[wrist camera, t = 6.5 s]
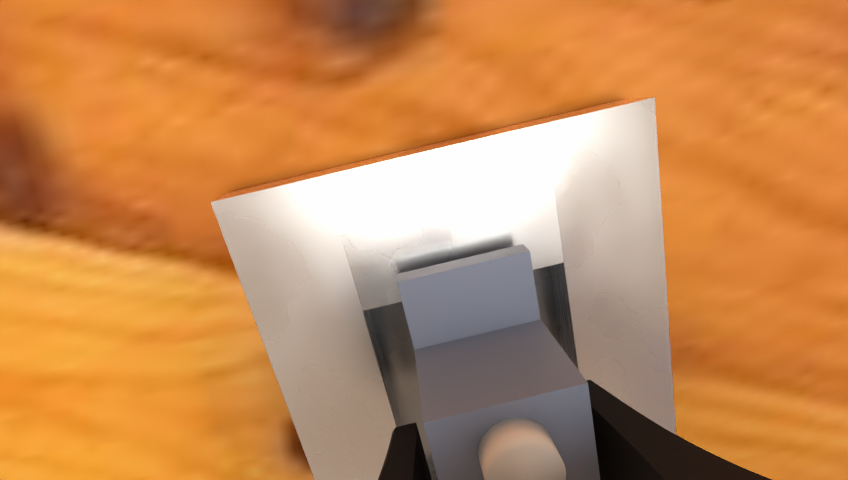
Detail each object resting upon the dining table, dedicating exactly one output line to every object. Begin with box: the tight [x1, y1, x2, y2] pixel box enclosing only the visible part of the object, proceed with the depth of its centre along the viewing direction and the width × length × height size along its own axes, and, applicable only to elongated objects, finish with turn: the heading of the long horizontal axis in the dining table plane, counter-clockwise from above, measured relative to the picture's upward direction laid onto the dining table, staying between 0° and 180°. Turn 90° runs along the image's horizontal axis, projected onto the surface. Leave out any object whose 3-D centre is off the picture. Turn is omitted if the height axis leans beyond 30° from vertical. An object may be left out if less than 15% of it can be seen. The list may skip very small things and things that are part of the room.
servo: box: [396, 244, 600, 480], centre depth 12 cm, size 10×4×6 cm, turn 12°
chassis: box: [211, 98, 676, 480], centre depth 15 cm, size 16×12×2 cm
